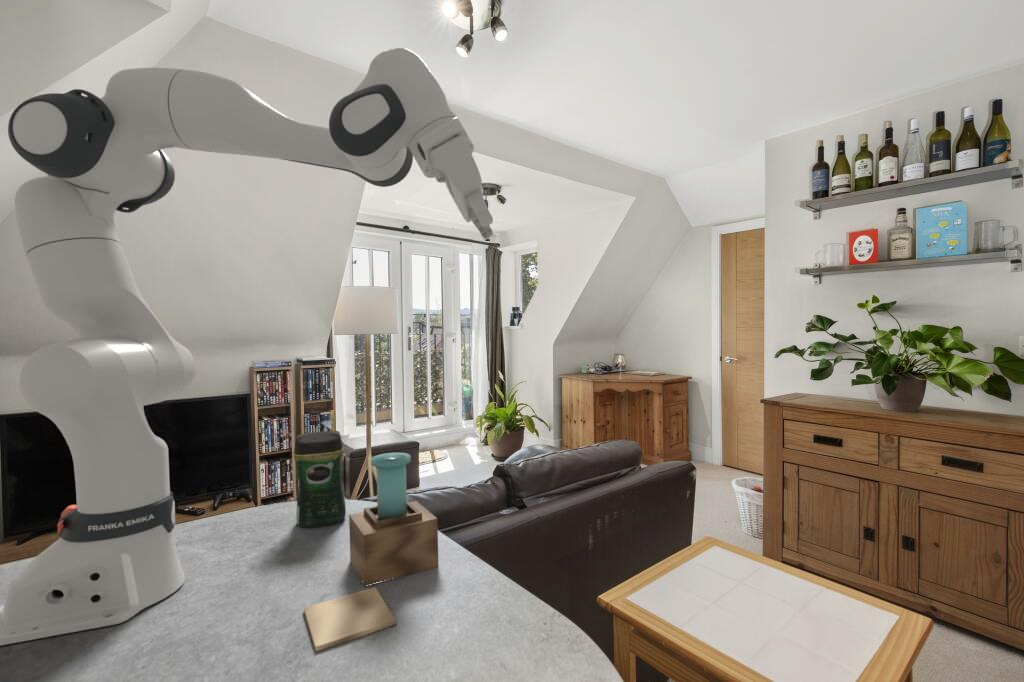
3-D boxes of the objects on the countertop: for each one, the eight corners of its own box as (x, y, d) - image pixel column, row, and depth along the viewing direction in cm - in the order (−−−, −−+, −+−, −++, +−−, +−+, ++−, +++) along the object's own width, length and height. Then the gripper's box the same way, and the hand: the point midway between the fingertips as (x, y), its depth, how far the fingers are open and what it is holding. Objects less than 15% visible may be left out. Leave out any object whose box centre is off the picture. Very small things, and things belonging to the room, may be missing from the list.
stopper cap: (378, 527, 77) (377, 464, 77) (368, 514, 83) (366, 456, 82) (417, 518, 80) (415, 458, 80) (404, 506, 86) (403, 450, 86)
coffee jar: (345, 510, 107) (343, 426, 106) (346, 524, 99) (343, 433, 99) (297, 517, 103) (295, 430, 103) (294, 531, 96) (291, 438, 96)
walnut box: (365, 587, 74) (363, 528, 74) (350, 561, 83) (348, 508, 83) (438, 566, 81) (437, 512, 80) (417, 544, 89) (416, 495, 89)
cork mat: (316, 651, 59) (315, 646, 59) (303, 611, 68) (303, 607, 68) (395, 624, 65) (395, 620, 65) (375, 591, 73) (375, 587, 73)
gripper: (434, 182, 85) (473, 252, 85) (415, 135, 64) (467, 227, 65) (465, 165, 85) (504, 234, 85) (457, 112, 64) (508, 204, 65)
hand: (489, 231), depth 75 cm, fingers open, 8 cm apart
